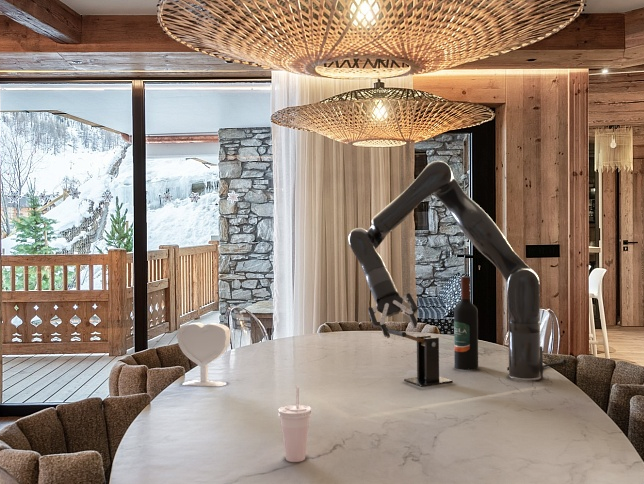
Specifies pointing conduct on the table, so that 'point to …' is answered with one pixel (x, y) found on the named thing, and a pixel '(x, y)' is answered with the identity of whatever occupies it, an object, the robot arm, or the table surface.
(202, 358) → the heart sculpture
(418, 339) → the lever
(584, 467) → the table surface
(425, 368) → the bracket
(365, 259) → the robot arm
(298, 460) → the smoothie
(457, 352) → the wine bottle
